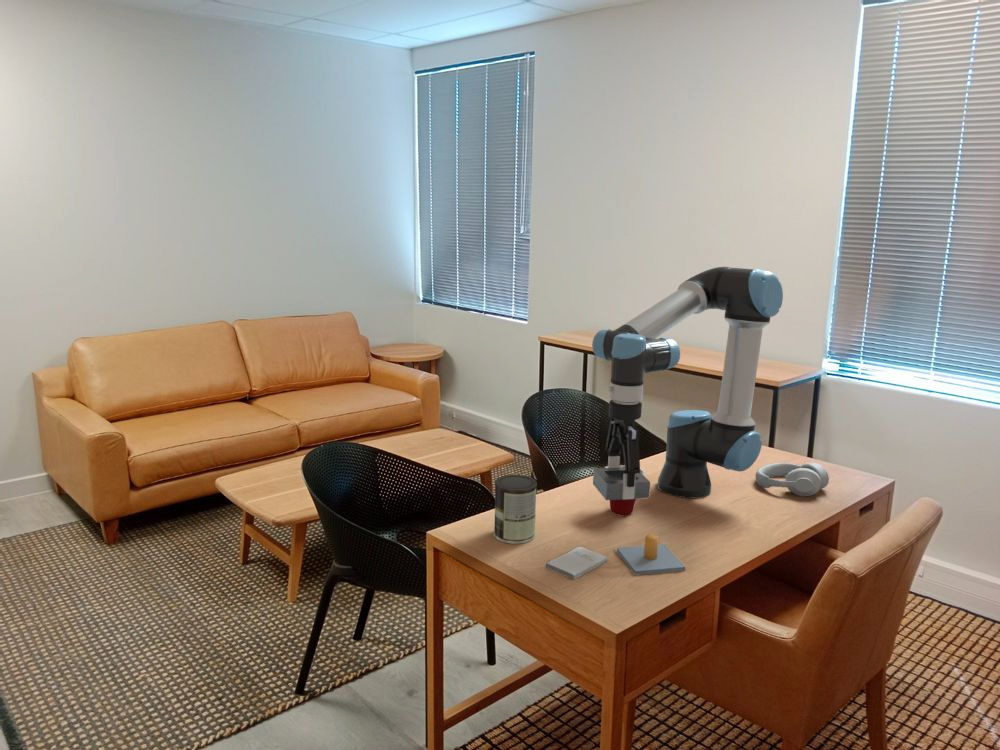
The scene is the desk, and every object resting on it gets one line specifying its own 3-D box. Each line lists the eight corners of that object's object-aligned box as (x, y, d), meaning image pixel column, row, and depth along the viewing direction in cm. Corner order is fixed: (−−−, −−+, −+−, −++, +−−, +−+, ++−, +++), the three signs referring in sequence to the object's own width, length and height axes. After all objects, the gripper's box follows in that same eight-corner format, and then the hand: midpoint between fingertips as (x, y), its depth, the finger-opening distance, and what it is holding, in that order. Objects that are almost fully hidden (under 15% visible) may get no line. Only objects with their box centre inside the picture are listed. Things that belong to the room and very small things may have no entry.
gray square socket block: (633, 482, 193) (634, 466, 192) (649, 498, 183) (650, 481, 182) (592, 484, 191) (593, 468, 190) (606, 500, 181) (606, 483, 180)
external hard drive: (545, 569, 178) (578, 551, 187) (573, 581, 172) (606, 563, 181) (545, 562, 177) (578, 545, 186) (574, 574, 172) (607, 556, 181)
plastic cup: (648, 509, 212) (651, 467, 209) (633, 522, 203) (636, 479, 200) (611, 500, 217) (613, 459, 215) (595, 513, 208) (597, 471, 205)
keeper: (663, 547, 189) (665, 524, 187) (685, 570, 177) (687, 546, 176) (616, 551, 186) (617, 528, 185) (635, 575, 175) (636, 550, 173)
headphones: (837, 486, 230) (773, 478, 244) (837, 460, 229) (772, 453, 243) (812, 502, 217) (745, 493, 231) (811, 475, 216) (744, 467, 230)
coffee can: (485, 537, 193) (486, 483, 189) (508, 523, 201) (510, 471, 198) (520, 548, 187) (522, 492, 184) (543, 533, 195) (544, 480, 192)
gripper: (595, 389, 192) (591, 473, 197) (626, 414, 170) (620, 509, 175) (624, 388, 194) (619, 472, 199) (659, 413, 172) (652, 507, 176)
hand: (620, 489), depth 187 cm, fingers closed on gray square socket block, 10 cm apart
